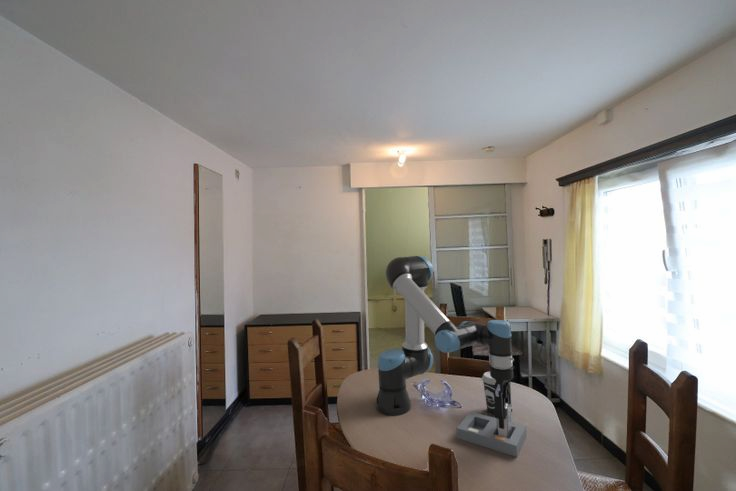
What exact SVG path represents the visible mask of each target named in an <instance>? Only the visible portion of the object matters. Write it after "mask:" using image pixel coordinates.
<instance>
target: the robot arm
mask: <svg viewBox="0 0 736 491" xmlns="http://www.w3.org/2000/svg"><path fill="white" fill-rule="evenodd" d="M433 275H434V267H433V264H432V263H431V261H430V260H429V259H428V258H427V257H425V256H421V255H409V256H399V257H395V258H393V259H391V260H390V261H389V262H388V264H387V265H386V269H385V277H386V281H387V283H388V285H389V286H390V288H391V289H392V290H393V291H394V292H397V293H399V294H400V296H401V297H402V298H403V299H404V302H405V306H404V307H405V308H404V309H405V313H404V314H405V315H404V316H405V317H404V318H405V321H404V322H405V326H404V327H405V341H404V342H403V343H402V344H401V348H402V349H399V348H393V349H387V350H384V351H382V352H381V353H380V354H379V355H378V358H377V368H378V371H377V372H378V389H379V390H378V394H377V396H376V399H375V400H376V401H375V408H376V410H377V411H378V412H379V413H381V414H383V415H387V416H398V415H403V414H406V413H408V412H410V411H411V408H412V402H411V401H412V400H411V399H410V396H409V393H408V390H407V381H406V380H407V379H410V378H414V377H416V376H419V375H423V374H425V373H427V372H428V371H430V370H431V369H432V367H433V365H434V355H433V353H432V351H431V348H430V347H429V346H428V344H427V343H426V342H425V325H426V326H427V327H428V329H429V330H430V331H431V332H432V333H433V334H434V335H435V336H434V342H435V344H436V347H437V350H439V351H440V352H441V353H444V354H447V353H453V352H454V353H455V352H456V351H458V350H461V349H464V348H468V347H471V346H474V345H481V346H484V347H488V357H489V358H488V360H489V361H488V362H489V365H490V366H489V372H490V376H491V377H492V378H494V379H495V380H496V383H495V389H496V390H493V394H494V405H495V415H494V418H497V419H498V436H501V437H505V438H507V422H506V418H505V402H508V404H511V405H512V392H511V391H512V388H511V381H512V380H513V378H514V367H513V362H514V361H515V359H514V357H513V350H512V349H513V348H512V331H511V330H512V329H511V323H510V322H508V321H507V320H504V319H491V320H488V321H487V323H486V324H484V323H480V322H475V321H471V320H470V321H466V320H464V321H462V322H461V323H460V324H459V326H456V325H455V324H454V323H453V322H452V321H451V320H450V319H449V317H447V316H446V315H445V314H444V312H442V310H440V308H439V307H438V306H437V305H436V303H435V302H434V301H432V299H430V297H429V296H428V295H427V294H426V293H425V290H426V289H427V288H428V287H429V283H428V282H429V281H430V280H431V279H432V277H433ZM512 412H513V408H511V413H512Z"/></svg>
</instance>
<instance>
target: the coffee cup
mask: <svg viewBox="0 0 736 491" xmlns="http://www.w3.org/2000/svg"><path fill="white" fill-rule="evenodd" d="M481 377H482V378H481V381H482V382H483V388H484V396H485V405H486V411H487V413H488V414H489V415H492V416H495V405H494V394H493V390H496V389H495V383H496V380H495V379H494V378H492V377H491V376H490V371H486V372H484V373H483V375H482V376H481Z"/></svg>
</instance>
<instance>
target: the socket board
mask: <svg viewBox="0 0 736 491" xmlns="http://www.w3.org/2000/svg"><path fill="white" fill-rule="evenodd" d="M527 434H528V433H527V425H524V424H520V423H516V422H512V434H511V436H510V438H505V437H501V436H498V435H497V426H496V418H495V417H493V416H489V415H485V414H481V413H478V412H473V411H469V413H468V414H467V415H466V416H465V418H464V419H463V420H462V421H461V422H460V424H459V425H458V426H457V427H456V437H457V439H459V440H462V441H464V442H468V443H471V444H475V445H477V446H481V447H483V448H488V449H491V450H494V451H497V452H500V453H502V454H506V455H509V456H512V457H515V458H518V457H519V454H520V452H521V451H522V447H523V445H524V443H525V440H526V439H527Z"/></svg>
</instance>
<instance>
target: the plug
mask: <svg viewBox="0 0 736 491" xmlns="http://www.w3.org/2000/svg"><path fill="white" fill-rule="evenodd" d="M511 409H512V403H511V404H508V402H505V418H506V422H507V438H510V436H511V434H512V412H511ZM496 426H497V435H498V419H497V418H496Z"/></svg>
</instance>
